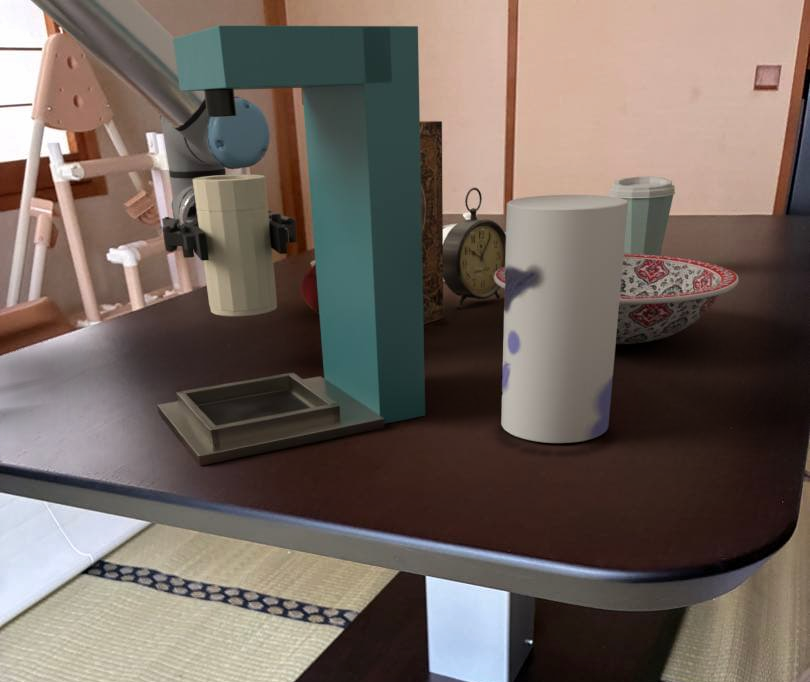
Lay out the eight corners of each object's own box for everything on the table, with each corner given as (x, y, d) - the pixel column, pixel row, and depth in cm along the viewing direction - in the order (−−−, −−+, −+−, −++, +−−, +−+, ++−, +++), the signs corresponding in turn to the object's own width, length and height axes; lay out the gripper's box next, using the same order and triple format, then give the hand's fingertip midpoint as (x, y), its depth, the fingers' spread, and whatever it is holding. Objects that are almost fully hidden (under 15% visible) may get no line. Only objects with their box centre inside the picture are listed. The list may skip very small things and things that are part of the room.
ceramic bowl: (463, 360, 100) (463, 291, 96) (524, 306, 123) (526, 249, 120) (721, 381, 90) (732, 305, 86) (734, 318, 114) (743, 257, 110)
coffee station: (158, 413, 86) (92, 39, 70) (362, 377, 95) (343, 38, 79) (200, 466, 73) (130, 24, 58) (430, 418, 82) (424, 25, 67)
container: (482, 418, 82) (485, 198, 72) (569, 402, 85) (583, 190, 76) (536, 452, 74) (547, 209, 64) (630, 433, 77) (653, 200, 68)
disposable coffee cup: (674, 279, 137) (685, 180, 130) (608, 281, 138) (616, 183, 131) (658, 268, 147) (668, 175, 140) (596, 269, 147) (603, 177, 140)
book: (420, 311, 122) (416, 121, 111) (448, 316, 119) (448, 121, 107) (338, 334, 112) (325, 126, 100) (367, 341, 109) (357, 127, 97)
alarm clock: (459, 312, 121) (459, 192, 114) (434, 307, 125) (432, 189, 117) (511, 300, 128) (514, 185, 120) (485, 295, 131) (487, 183, 124)
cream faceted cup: (202, 306, 98) (185, 177, 92) (264, 299, 101) (251, 173, 95) (221, 319, 92) (204, 182, 86) (286, 310, 95) (274, 177, 89)
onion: (350, 315, 122) (346, 258, 118) (315, 322, 119) (310, 263, 115) (330, 308, 126) (326, 253, 122) (296, 314, 123) (291, 258, 119)
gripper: (293, 243, 113) (339, 271, 94) (135, 256, 107) (150, 288, 88) (288, 183, 109) (334, 199, 90) (124, 193, 103) (137, 212, 84)
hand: (243, 243), depth 89 cm, fingers closed on cream faceted cup, 8 cm apart
